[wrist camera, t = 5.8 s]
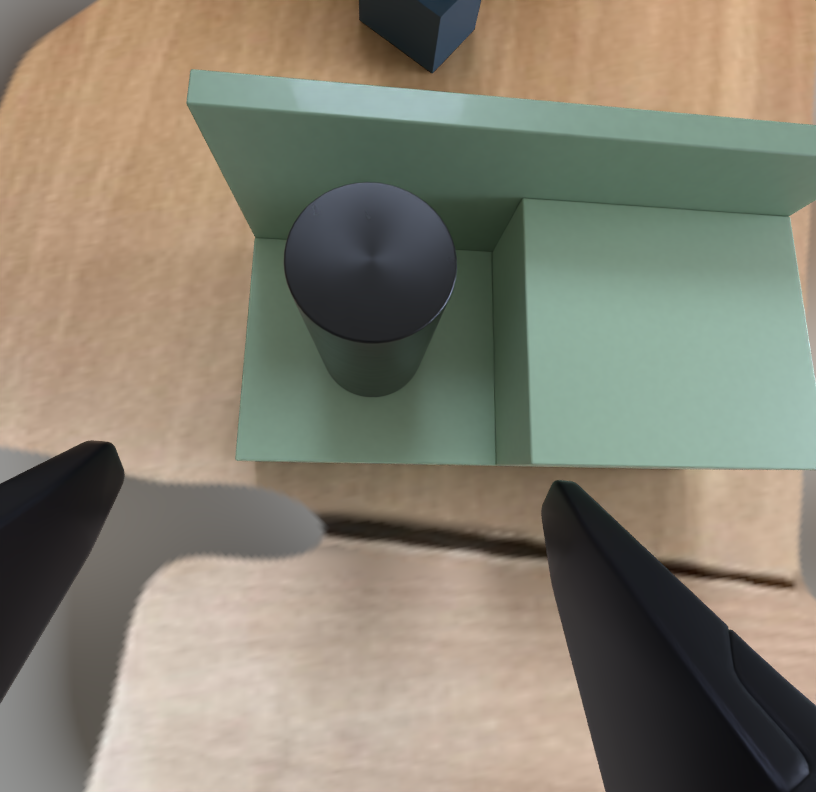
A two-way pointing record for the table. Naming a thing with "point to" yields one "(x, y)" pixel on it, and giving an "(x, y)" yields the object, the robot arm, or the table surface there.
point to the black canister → (370, 282)
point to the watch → (422, 26)
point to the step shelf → (536, 278)
